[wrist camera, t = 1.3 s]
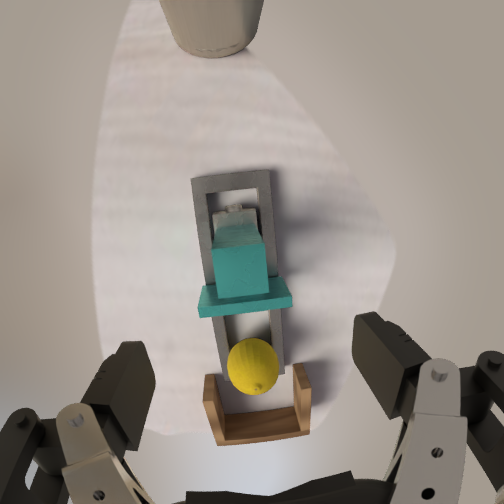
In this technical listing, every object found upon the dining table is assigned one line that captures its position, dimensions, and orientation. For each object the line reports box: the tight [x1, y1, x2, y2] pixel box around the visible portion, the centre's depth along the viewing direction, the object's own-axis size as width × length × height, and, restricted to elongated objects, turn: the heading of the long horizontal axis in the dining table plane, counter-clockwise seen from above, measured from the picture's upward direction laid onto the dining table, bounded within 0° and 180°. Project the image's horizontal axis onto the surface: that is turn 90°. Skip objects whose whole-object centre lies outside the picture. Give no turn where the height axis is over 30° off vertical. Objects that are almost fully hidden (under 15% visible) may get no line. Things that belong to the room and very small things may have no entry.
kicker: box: [198, 205, 292, 318], centre depth 24 cm, size 8×8×10 cm
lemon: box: [227, 338, 279, 395], centre depth 29 cm, size 6×6×8 cm
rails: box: [191, 170, 285, 381], centre depth 30 cm, size 24×7×2 cm, turn 6°
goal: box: [203, 363, 311, 446], centre depth 32 cm, size 9×12×5 cm
